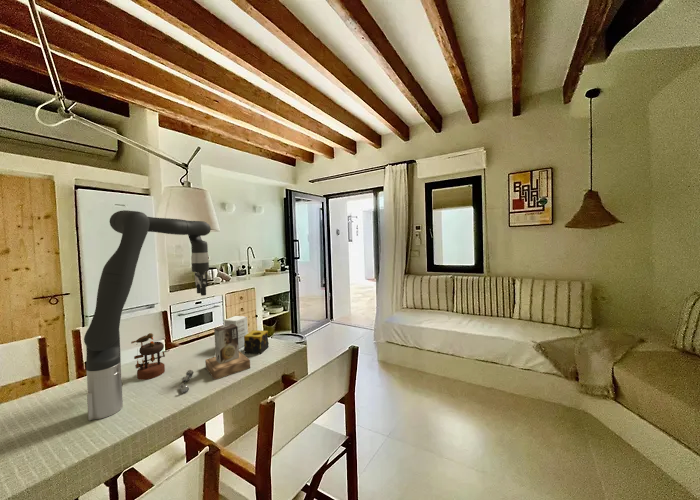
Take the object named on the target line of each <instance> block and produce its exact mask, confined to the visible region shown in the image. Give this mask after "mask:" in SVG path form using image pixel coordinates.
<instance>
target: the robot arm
mask: <svg viewBox="0 0 700 500" xmlns="http://www.w3.org/2000/svg"><path fill="white" fill-rule="evenodd" d="M109 225H110V227H111V229H113V230H114V231H115V232H117V233H119V234H122V235H121V239H120V242H119V245H118V247H117V249H116V250H115V252H114V253H113V254H112V255H111V257H110V258H109V259H108V260H107V261H106V263H105V265H104V266H103V268H102V271H101V275H100V277H99V281H98V288H97V293H96V304H95V310H94V313H93V316H92V318H91V322H90V324H89V326H88V328H87V330H86V331H85V333H84V334H85V335H84V337H83V342H84V345H85V347H86V361H85V364H86V365H85V367H86V382H87V383H86V386H87V393H86V399H87V400H86V403H87V420H88V421H92V420H101V419H105V418H107V417H109V416H110V417H111V416H112V415H114V414H116V413H118V412H119V411H121V409H122V408H123V407H124V403H123V402H124V401H123V400H124V399H123V385H122V384H123V383H122V381H123V380H122V366H121V364H122V363H121V362H122V361H121V360H122V359H121V337H120V336H121V335H120V324H121V318H122V317H121V316H122V312H123V310H124V306H125V304H126V302H127V300H128V297H129V295H130V291H131V288H132V286H133V281H134V277H135V273H136V268H137V265H138V262H139V258H140V254H141V251H142V248H143V245H144V242H145V240H146V237H147V234H148V232H151V233H158V234H159V233H161V234H166V235H167V234H168V235H178V236H185V235H186V236H188V239H189V242H190V244H191V248H190V249H191V256H190V257H191V258H190V260H191V272H192V273H194V285H195V286H196V294H200V296H203V297H204V296H206V295H207V287H208V274H206V273H205V272H209V271H210V260H209V259H210V258H209V252H208V251H209V249H208V247H209V246H208V245H209V244H208V242H207V241H206V240H202V237H203V236H207V235H208V234H210V233H211V231H212V229H211V225H210V223H208V222H207V221H202V220H186V219H182V218H181V219H179V218H168V217H153V216H147V214H145V213H144V212H142V211H138V210H124V209H122V210H118V211H116V212H114V213H113V214H112V215H111V216H110V218H109Z"/></svg>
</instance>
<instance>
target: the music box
mask: <svg viewBox="0 0 700 500" xmlns="http://www.w3.org/2000/svg"><path fill="white" fill-rule="evenodd" d="M153 336H154V334H153V333H152V332H151V333H148V334H146V335H143V336H141V337H139V338H138V339H136V340H132V341H131V342H130V344H134V343H136V344H139V343H140V348H139V350H138V352H139V355H138V354H136V355H134V356H133V359H134V360H136V364H135V369H136V375H137V377H136V378H137V380H140V381H147V380H151V379H155V378H158V377H159V376H161V375H163V374H164V373H165V372H166V368H165V366H166V365H165V363H164V362H161V359H162V358H165V357H166V354H165V353H167V352H170V349H168V350H165V351H164V347H165V346H164V343H163V342H162V341H154V337H153ZM150 339H151V341H149V340H150ZM148 341H149V342H148ZM146 342H147V343H146ZM143 343H144V344H143ZM161 353H162V355H160V354H161ZM155 355H156V356H157V357H155ZM148 356H151V357H150V359H148ZM140 358H141V359H142V358H144V359H142V360H141V361H142V363H139V360H138V359H140ZM156 360H157V362H154V361H156ZM149 361H150V362H149Z"/></svg>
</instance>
